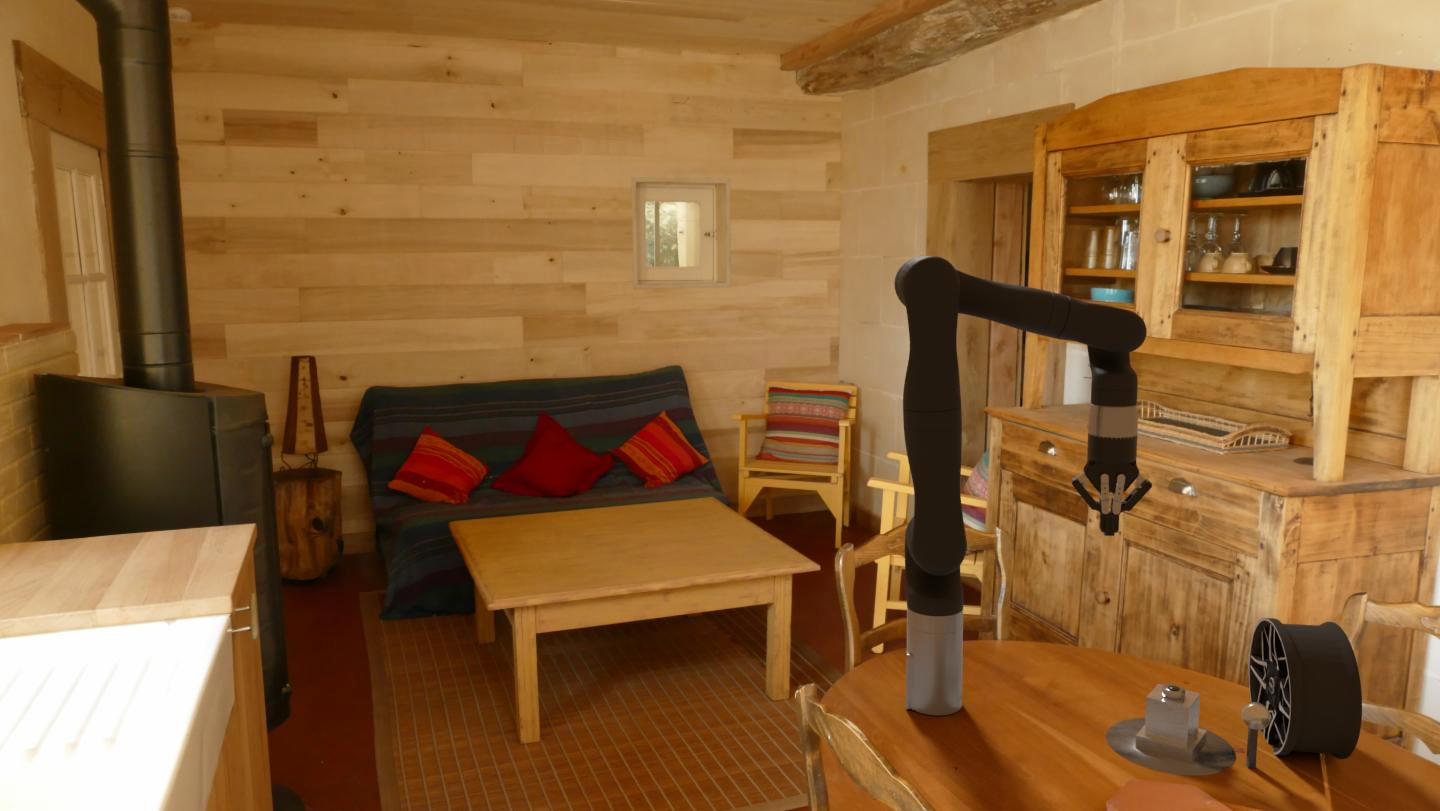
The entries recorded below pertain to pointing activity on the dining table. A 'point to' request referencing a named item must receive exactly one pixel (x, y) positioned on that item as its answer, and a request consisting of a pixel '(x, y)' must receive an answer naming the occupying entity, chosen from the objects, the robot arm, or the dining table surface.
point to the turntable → (1208, 761)
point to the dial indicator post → (1254, 728)
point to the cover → (1172, 724)
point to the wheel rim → (1306, 687)
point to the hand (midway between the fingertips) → (1108, 534)
